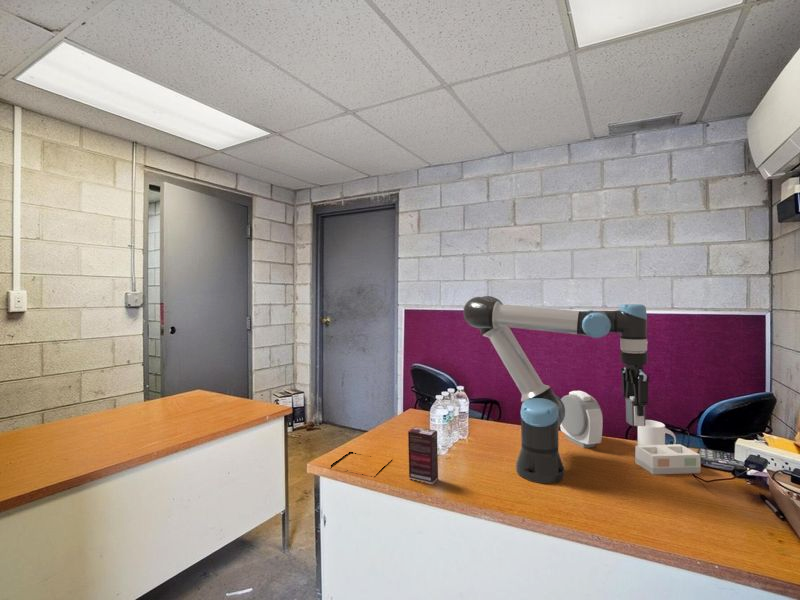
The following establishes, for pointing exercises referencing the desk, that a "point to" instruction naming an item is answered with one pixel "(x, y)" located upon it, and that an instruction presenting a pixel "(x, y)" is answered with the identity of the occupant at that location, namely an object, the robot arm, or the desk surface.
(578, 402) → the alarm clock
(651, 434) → the mug
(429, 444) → the supplement box
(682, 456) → the divided sorting tray
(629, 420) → the plug
